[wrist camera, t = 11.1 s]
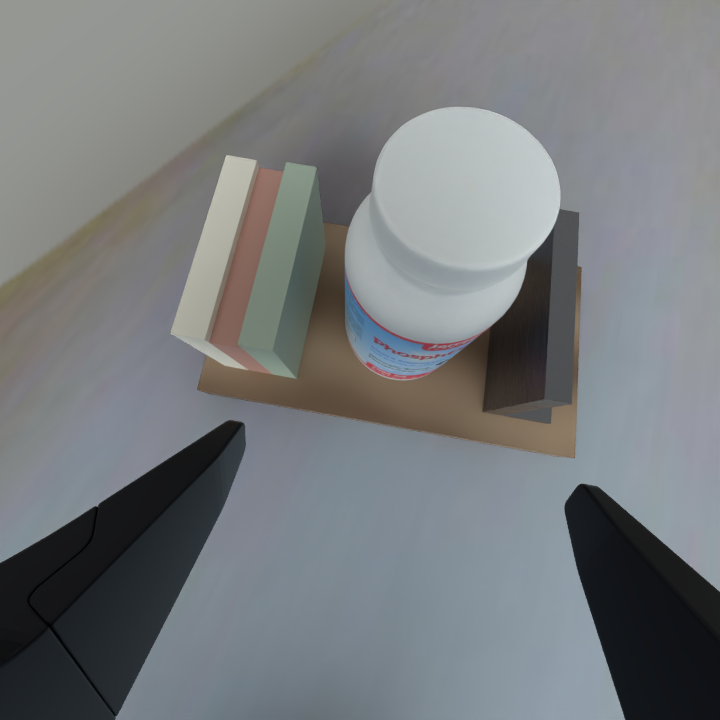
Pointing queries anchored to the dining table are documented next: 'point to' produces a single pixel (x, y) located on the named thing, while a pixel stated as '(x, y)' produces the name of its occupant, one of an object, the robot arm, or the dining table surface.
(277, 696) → the dining table surface
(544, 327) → the bookend
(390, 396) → the shelf board
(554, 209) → the pill bottle
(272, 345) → the row of books
